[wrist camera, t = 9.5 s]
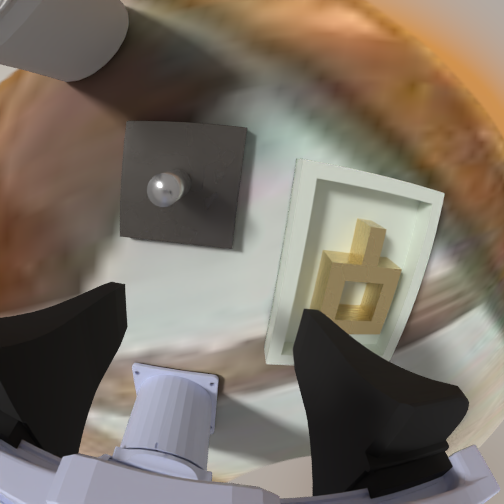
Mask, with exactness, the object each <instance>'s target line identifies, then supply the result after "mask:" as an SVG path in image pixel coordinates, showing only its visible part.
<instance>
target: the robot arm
mask: <svg viewBox="0 0 504 504" xmlns="http://www.w3.org/2000/svg"><path fill="white" fill-rule="evenodd" d="M126 329H127V314H126V296H125V284H120V283H115V282H110V283H107V284H104V285H101V286H99V287H97V288H95V289H92V290H90V291H88V292H86V293H83V294H81V295H79V296H77V297H74V298H72V299H69V300H67V301H65V302H62V303H60V304H57V305H54V306H52V307H49V308H46V309H42V310H39V311H35V312H31V313H26V314H21V315H16V316H11V317H3V318H0V503H1V504H484V503H485V502H486V501H488V500H489V499H490V498H491V497H493V496H494V495H495V494H497V493H498V492H499V491H500V487H499V485H498V483H497V482H496V480H495V478H494V476H493V474H492V473H491V471H490V469H489V467H488V466H487V464H486V462H485V460H484V458H483V457H482V456H481V454H480V452H479V450H478V448H477V447H476V445H471V446H469V447H467V448H464V449H462V450H460V451H457V452H455V453H453V454H452V455H451V456H449V457H448V456H447V454H446V453H445V451H446V450H447V449H448V448H449V445H448V443H447V441H446V439H447V438H448V437H449V435H450V434H451V433H452V432H453V431H454V430H455V428H456V427H457V426H458V425H459V423H460V422H461V421H462V419H463V418H464V416H465V415H466V412H467V410H468V406H469V401H468V399H467V398H466V396H465V395H464V394H463V392H462V391H461V390H460V388H459V387H458V386H455V385H451V384H447V383H443V382H439V381H435V380H431V379H428V378H426V377H423V376H420V375H417V374H415V373H412V372H410V371H407V370H405V369H403V368H401V367H399V366H397V365H394V364H393V363H391V362H389V361H387V360H385V359H384V358H382V357H380V356H378V355H377V354H375V353H374V352H372V351H370V350H369V349H368V348H366V347H365V346H363V345H362V344H361V343H359V342H358V341H357V340H355V339H354V338H353V337H351V336H350V335H349V334H348V333H346V332H345V331H344V330H343V329H342V328H340V327H339V326H338V325H337V324H336V323H334V322H333V321H332V320H331V319H330V318H329V317H327V316H326V315H325V314H324V313H322V312H321V311H319V310H315V309H304V310H303V314H302V317H301V321H300V325H299V328H298V332H297V335H296V339H295V342H294V346H293V358H294V367H295V372H296V376H297V380H298V384H299V388H300V392H301V395H302V399H303V403H304V407H305V410H306V415H307V420H308V428H309V436H310V446H311V458H312V477H313V496H312V497H300V498H284V499H280V498H279V496H278V495H276V494H274V493H272V492H270V491H267V490H264V489H262V488H260V487H256V486H248V485H240V484H234V483H223V482H212V472H210V471H207V461H208V448H209V436H210V434H213V433H214V428H215V416H216V404H217V392H218V381H219V378H218V376H216V375H213V374H205V373H197V372H189V371H182V370H175V369H169V368H163V367H157V366H151V365H145V364H140V363H134V364H133V366H132V371H133V377H134V382H135V388H136V393H137V398H136V401H135V404H134V407H133V409H132V412H131V415H130V418H129V421H128V424H127V427H126V430H125V433H124V436H123V439H122V442H121V445H120V447H117V446H116V447H115V450H114V453H113V456H110V455H107V454H103V455H102V456H100V457H98V458H97V457H92V456H88V455H84V454H80V453H79V454H78V452H79V447H80V442H81V438H82V434H83V430H84V426H85V423H86V419H87V416H88V413H89V409H90V407H91V404H92V401H93V398H94V395H95V393H96V390H97V388H98V386H99V384H100V382H101V380H102V378H103V376H104V374H105V372H106V371H107V369H108V367H109V365H110V363H111V362H112V360H113V358H114V356H115V354H116V352H117V351H118V349H119V347H120V345H121V342H122V340H123V337H124V334H125V332H126ZM137 371H138V372H137ZM212 383H214V384H212Z"/></svg>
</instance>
